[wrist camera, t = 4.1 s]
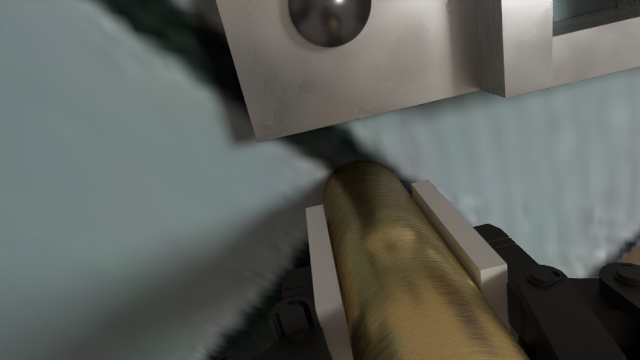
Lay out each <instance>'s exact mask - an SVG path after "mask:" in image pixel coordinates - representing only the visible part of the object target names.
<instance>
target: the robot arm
mask: <svg viewBox="0 0 640 360" xmlns="http://www.w3.org/2000/svg"><path fill="white" fill-rule="evenodd" d="M411 185H412V192H413V199H414V202H415V203H416V204H417V206H418V207H419V208H420V210H421V211H422V213H423V214H424V215H425V217H426V218H427V219H428V221H429V222H430V223H431V225H432V226H433V228H434V229H435V230H436V232H437V233H438V234H439V236H440V237H441V238H442V240H443V241H444V243H445V244H446V245H447V247H448V248H449V249H450V251H451V252H452V253H453V255H454V256H455V257H456V259H457V260H458V262H459V263H460V264H461V266H462V267H463V268H464V270H465V271H466V272H467V274H468V275H469V277H470V278H471V279H472V281H473V282H474V283H475V285H476V286H477V287H478V289H479V290H480V292H481V293H482V294H483V296H484V297H485V298H486V300H487V301H488V302H489V304H490V305H491V306H492V308H493V309H494V311H495V312H496V313H497V315H498V316H499V317H500V319H501V320H502V321H503V323H504V324H505V326H506V327H507V328H508V330H509V331H510V324H511V326H512V327H513V328H514V330H515V331H516V332H517V334H518V343H519V345H520V346H521V347H522V349H523V350H524V351H525V353H526V354H527V355H528V357H529V358H530V360H640V265H636V264H632V263H621V262H619V263H611V264H608V265H606V266H603V267H602V268H601V270H600V271H599V278H568V277H567V276H566V275H565V274H564V273H563V272H562V271H560V270H558V269H556V268H554V267H551V266H546V265H539V264H538V263H537V262H536V261H535V260H533V259H532V258H531V257H530V256H529V255H528V254H527V253H526V252H525V251H524V250H523V249H522V248H521V247H520V246H519V245H516V243H515V242H514V241H513V240H512V239H511V238H509V236H508V235H507V234H506V233H505V232H504V231H503V230H501V229H500V228H498V227H495V226H493V225H491V224H484V225H480V226H475V227H472V226H471V225H470V224H469V223H468V222H467V221H466V220H465V218H464V217H463V216H462V215H461V214H460V213H459V212H458V211H457V210H456V209H455V208H454V207H453V206H452V205H451V203H450V202H449V201H448V200H447V199H446V198H445V197H444V196H443V195H442V194H441V193H440V192H439V191H438V190H437V188H436V187H435V186H434V185H433V184H432V183H431V182H430V181H429V180H425V181H420V182H416V183H412V184H411ZM306 218H307V228H308V238H309V248H310V258H311V266H307V267H303V268H299V269H294V270H290V271H287V273H286V275H285V277H284V278H283V280H282V301H281V302H279V303H278V304H276V305H275V306H274V307H273V308H272V309H271V311H270V313H269V315H268V322H269V325H270V328H271V331H272V334H273V337H274V340H275V343H274V344H273V345H272V346H270V347H269V348H268V349H267V350H265V351H263V352H262V353H260V354H258V355H256V356H254V357H252V358H249V356H248V355H247V354H245V353H242V352H231V353H228V354H225V355H223V356H221V357H220V358H218V359H216V360H353V355H352V350H351V345H350V340H349V333H348V324H347V319H346V314H345V310H344V305H343V300H342V295H341V290H340V285H339V280H338V275H337V270H336V265H335V260H334V255H333V250H332V245H331V240H330V235H329V230H328V225H327V221H326V217H325V213H324V209H323V204H322V205H317V206H313V207H309V208H306Z"/></svg>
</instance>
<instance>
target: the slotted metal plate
mask: <svg viewBox="0 0 640 360" xmlns="http://www.w3.org/2000/svg"><path fill="white" fill-rule="evenodd" d="M216 3H217V6H218V10H219V13H220V17H221V20H222V23H223V27H224V30H225V34H226V37H227V41H228V44H229V48H230V51H231V54H232V58H233V61H234V65H235V68H236V72H237V75H238V78H239V82H240V85H241V89H242V92H243V96H244V99H245V103H246V106H247V109H248V113H249V116H250V120H251V123H252V127H253V130H254V133H255V137H256V140H257V142H262V141H266V140H270V139H274V138H279V137H283V136H287V135H291V134H296V133H300V132H304V131H308V130H313V129H317V128H321V127H325V126H330V125H334V124H338V123H342V122H347V121H351V120H355V119H359V118H364V117H368V116H372V115H376V114H381V113H385V112H389V111H393V110H398V109H402V108H406V107H410V106H415V105H419V104H423V103H428V102H432V101H436V100H440V99H445V98H449V97H453V96H457V95H462V94H466V93H470V92H474V91H479V90H482V91H485V92H488V93H492V94H495V95H498V96H501V97H504V98H507V97H512V96H516V95H520V94H524V93H529V92H533V91H537V90H541V89H546V88H550V87H554V86H559V85H563V84H567V83H571V82H576V81H580V80H584V79H588V78H593V77H597V76H601V75H605V74H610V73H614V72H618V71H622V70H627V69H631V68H635V67H639V66H640V0H617V7H615V8H610V9H606V10H602V11H598V12H593V13H589V14H585V15H581V16H576V17H572V18H568V19H564V20H560V21H555V22H553V0H216Z"/></svg>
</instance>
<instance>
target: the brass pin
mask: <svg viewBox="0 0 640 360" xmlns="http://www.w3.org/2000/svg"><path fill="white" fill-rule="evenodd" d="M322 203H323V208H324V213H325V217H326V221H327V225H328V230H329V235H330V240H331V245H332V250H333V255H334V260H335V265H336V270H337V275H338V280H339V285H340V290H341V295H342V300H343V305H344V310H345V314H346V319H347V324H348V333H349V340H350V345H351V350H352V355H353V360H530V358H529V357H528V355H527V354H526V353H525V351H524V350H523V349H522V347H521V346H520V345H519V343H518V342H517V341H516V339H515V338H514V336H513V335H512V334H511V332H510V331H509V330H508V328H507V327H506V326H505V324H504V323H503V321H502V320H501V319H500V317H499V316H498V315H497V313H496V312H495V311H494V309H493V308H492V306H491V305H490V304H489V302H488V301H487V300H486V298H485V297H484V296H483V294H482V293H481V292H480V290H479V289H478V287H477V286H476V285H475V283H474V282H473V281H472V279H471V278H470V277H469V275H468V274H467V272H466V271H465V270H464V268H463V267H462V266H461V264H460V263H459V262H458V260H457V259H456V257H455V256H454V255H453V253H452V252H451V251H450V249H449V248H448V247H447V245H446V244H445V243H444V241H443V240H442V238H441V237H440V236H439V234H438V233H437V232H436V230H435V229H434V228H433V226H432V225H431V223H430V222H429V221H428V219H427V218H426V217H425V215H424V214H423V213H422V211H421V210H420V208H419V207H418V206H417V204H416V203H415V202H414V200H413V199H412V198H411V196H410V195H409V194H408V192H407V191H406V189H405V188H404V187H403V185H402V184H401V183H400V181H399V180H398V179H397V177H396V176H395V175H394V173H393V172H392V171H391V170H390V169H389V168H388V167H386V166H385V165H383V164H381V163H378V162H376V161H371V160H358V161H353V162H350V163H347V164H345V165H343V166H342V167H340V168H339V169H337V170H336V171H335V172H334V173H333V174H332V175H331V176H330V178H329V179H328V181H327V182H326V184H325V187H324V190H323V196H322Z"/></svg>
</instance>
